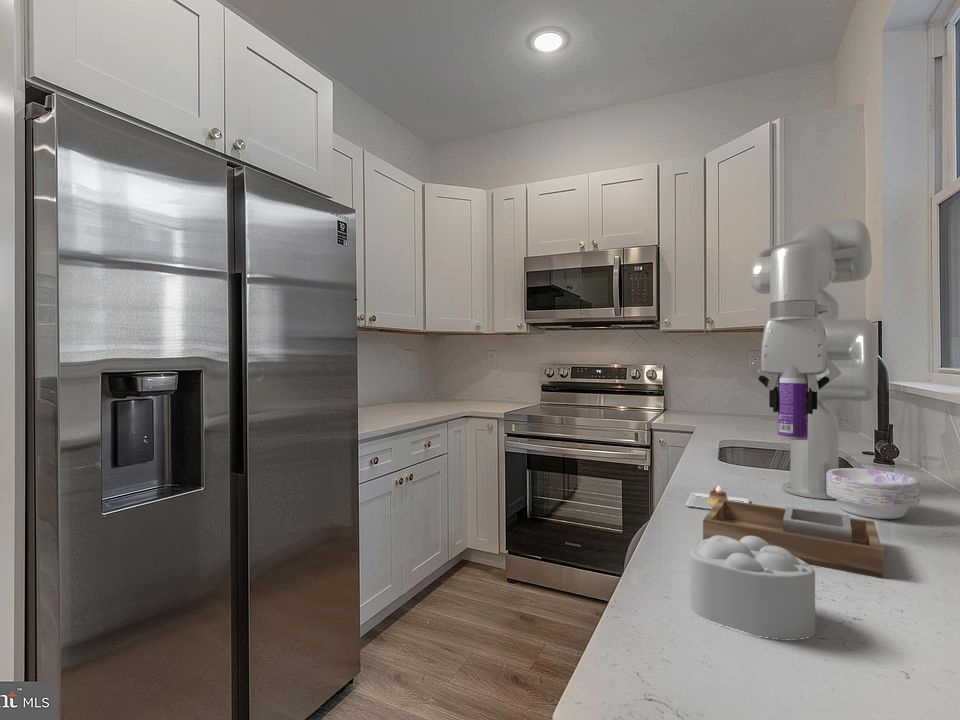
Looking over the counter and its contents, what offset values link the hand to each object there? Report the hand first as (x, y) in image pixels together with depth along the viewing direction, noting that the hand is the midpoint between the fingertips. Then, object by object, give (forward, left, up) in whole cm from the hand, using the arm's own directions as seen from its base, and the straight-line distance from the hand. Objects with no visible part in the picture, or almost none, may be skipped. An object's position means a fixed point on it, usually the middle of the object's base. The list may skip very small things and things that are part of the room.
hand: (792, 411), depth 92 cm
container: (0, 0, -5) cm, 5 cm away
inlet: (+8, +4, -22) cm, 24 cm away
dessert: (-11, -14, -23) cm, 29 cm away
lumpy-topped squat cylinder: (+39, -3, -22) cm, 45 cm away
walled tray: (+8, 0, -22) cm, 23 cm away
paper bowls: (-23, +13, -22) cm, 34 cm away
